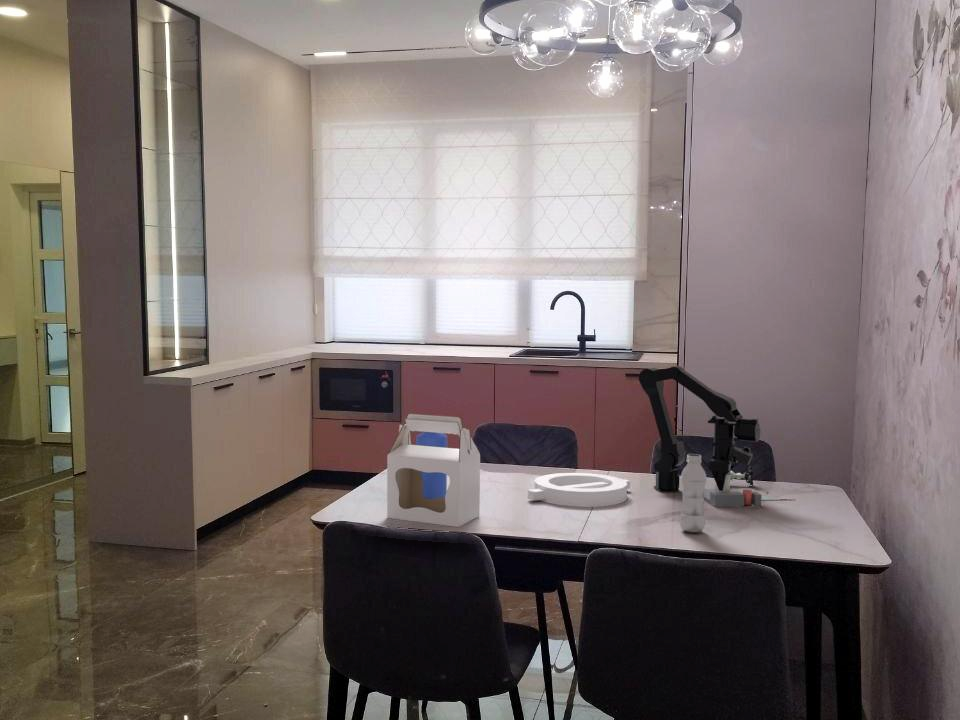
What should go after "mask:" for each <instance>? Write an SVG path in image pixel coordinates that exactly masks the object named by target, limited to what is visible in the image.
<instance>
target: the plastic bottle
mask: <svg viewBox="0 0 960 720" xmlns="http://www.w3.org/2000/svg"><path fill="white" fill-rule="evenodd" d="M686 463H687V464H686V465H685V467H684V468H683V470H682V471H681V474H680V478H681V480H680V481H681V487H682V503H681V504H682V505H681V513H680V516H679V527H680V528H681V531H684V532H686V533H687V532H688V533H691V534H692V533H695V534H696V533H702V532H703V530H705V526H706V517H705V509H704V506H705V505H704V501H705V500H704V498H703V497H704V489H706V483H707V474H706V471H705V470H704V468H703V466H702V465H701V464H702V455H701V454H699V453H698V454H697V453H688V454H687V455H686Z"/></svg>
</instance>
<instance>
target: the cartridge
mask: <svg viewBox="0 0 960 720" xmlns="http://www.w3.org/2000/svg"><path fill="white" fill-rule="evenodd" d="M731 471H732V470H731ZM731 471H730V472H729V473H727V474H726V478H725V483H724V488H723V491H719V489H718V487H717V484H716V482H715V481H714V489H715V492H730V489H731V480H730V475H731Z"/></svg>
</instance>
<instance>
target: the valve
mask: <svg viewBox="0 0 960 720" xmlns="http://www.w3.org/2000/svg"><path fill="white" fill-rule="evenodd" d="M748 466H749V465H748ZM742 478H743V480H745V482H746V483H747V484H750V485H752V486H754V479H755V477H754V467H753V466H749V467H748V471H745V472H743V474H742V473H741V472H736V473H735V472H734V471H732V470H731V475H730V481H733V479H737V480H741V479H742Z"/></svg>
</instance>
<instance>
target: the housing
mask: <svg viewBox="0 0 960 720" xmlns="http://www.w3.org/2000/svg"><path fill="white" fill-rule="evenodd" d="M759 493H760V492H757V491H752V504H751V505H752V506H753V505H754V507H762V500H761V496H762V495H761V494H759ZM703 498H704V500H703V501H705V502H706V501H707V502H706V503H708V504H709V503H710V504H709V505H711V506H712V505H713V507H714V508H729V507H730V508H736V507H737V508H741V507H742V508H743V507H744V508H745V504H744V494H743V491H739V490H738V489H736V488H730V492H715V488H705V489H704V497H703Z"/></svg>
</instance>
